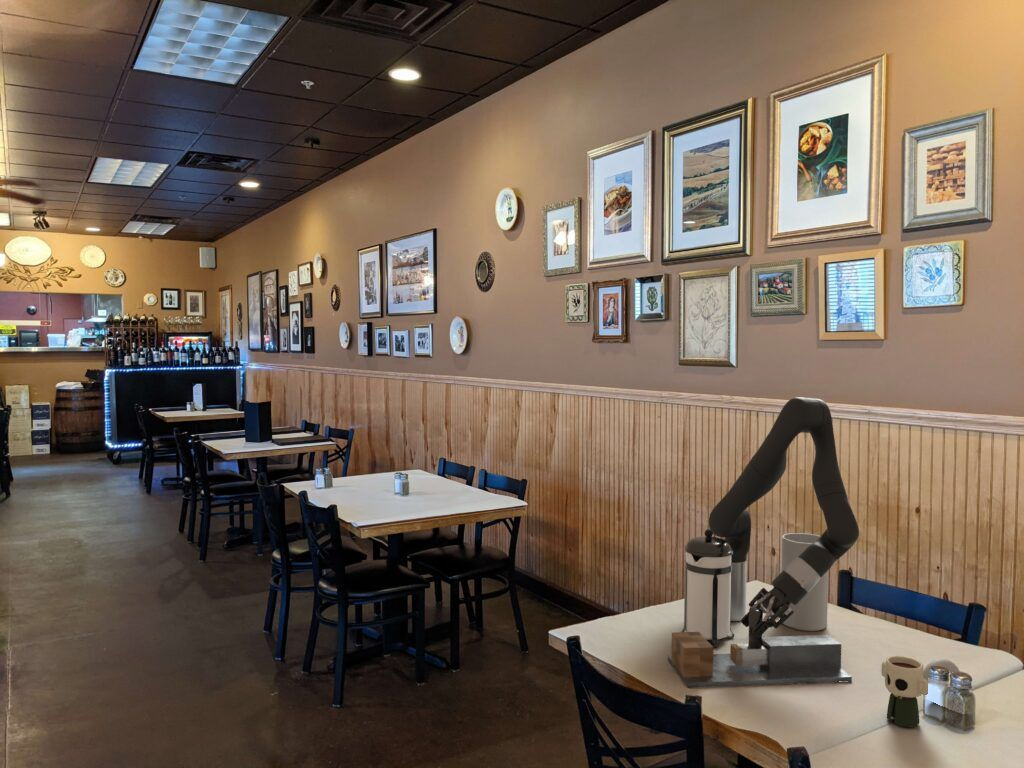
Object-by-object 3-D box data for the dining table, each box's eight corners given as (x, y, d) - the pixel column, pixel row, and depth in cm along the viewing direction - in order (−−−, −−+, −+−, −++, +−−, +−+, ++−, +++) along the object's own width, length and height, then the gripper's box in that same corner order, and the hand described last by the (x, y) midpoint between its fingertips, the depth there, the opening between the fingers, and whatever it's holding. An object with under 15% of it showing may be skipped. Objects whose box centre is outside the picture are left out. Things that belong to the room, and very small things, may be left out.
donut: (928, 709, 168) (930, 664, 167) (916, 702, 171) (917, 658, 170) (964, 703, 171) (965, 659, 170) (951, 696, 174) (952, 653, 173)
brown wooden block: (671, 660, 190) (671, 632, 190) (698, 659, 191) (698, 631, 191) (684, 677, 180) (684, 648, 180) (712, 676, 181) (713, 647, 181)
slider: (730, 659, 188) (731, 608, 188) (823, 656, 191) (824, 605, 190) (736, 665, 185) (737, 613, 184) (830, 662, 187) (832, 610, 186)
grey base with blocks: (667, 660, 193) (667, 632, 193) (818, 655, 197) (818, 627, 197) (688, 687, 177) (688, 657, 177) (851, 681, 181) (852, 651, 181)
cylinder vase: (771, 620, 223) (773, 535, 222) (803, 614, 228) (805, 531, 227) (804, 634, 211) (806, 545, 210) (836, 628, 217) (839, 541, 216)
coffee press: (746, 649, 201) (748, 536, 200) (685, 648, 201) (687, 535, 200) (728, 625, 218) (730, 521, 217) (672, 624, 219) (674, 521, 217)
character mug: (869, 714, 165) (870, 655, 164) (892, 708, 168) (894, 650, 167) (914, 737, 155) (915, 675, 154) (937, 730, 158) (939, 669, 157)
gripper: (773, 562, 194) (727, 609, 193) (800, 579, 180) (750, 629, 179) (792, 582, 195) (747, 629, 194) (821, 600, 180) (771, 651, 180)
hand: (749, 629), depth 187 cm, fingers open, 6 cm apart
